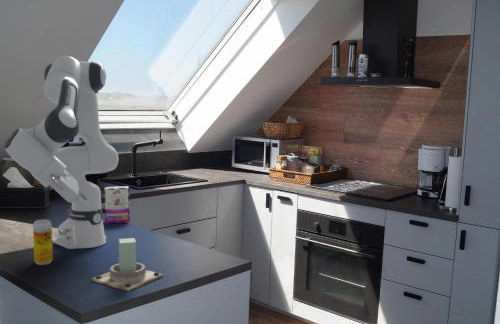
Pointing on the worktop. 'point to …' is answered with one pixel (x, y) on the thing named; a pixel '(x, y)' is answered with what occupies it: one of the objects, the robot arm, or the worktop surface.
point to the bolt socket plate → (122, 285)
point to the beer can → (42, 242)
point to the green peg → (127, 255)
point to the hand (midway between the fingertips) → (86, 203)
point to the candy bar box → (117, 204)
